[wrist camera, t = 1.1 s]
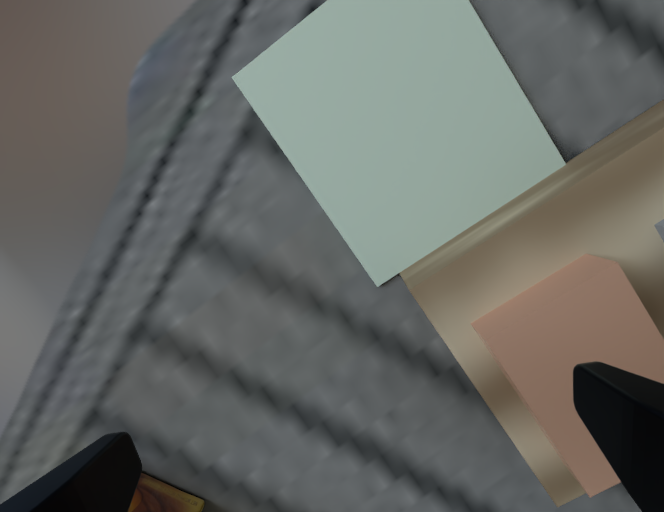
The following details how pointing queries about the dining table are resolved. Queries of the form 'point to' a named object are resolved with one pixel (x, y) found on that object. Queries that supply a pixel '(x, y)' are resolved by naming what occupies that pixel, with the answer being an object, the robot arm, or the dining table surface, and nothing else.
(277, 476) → the dining table surface
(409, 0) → the mat
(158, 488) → the candy box
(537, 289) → the terracotta tile
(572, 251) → the tan flat block
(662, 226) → the slate tile
